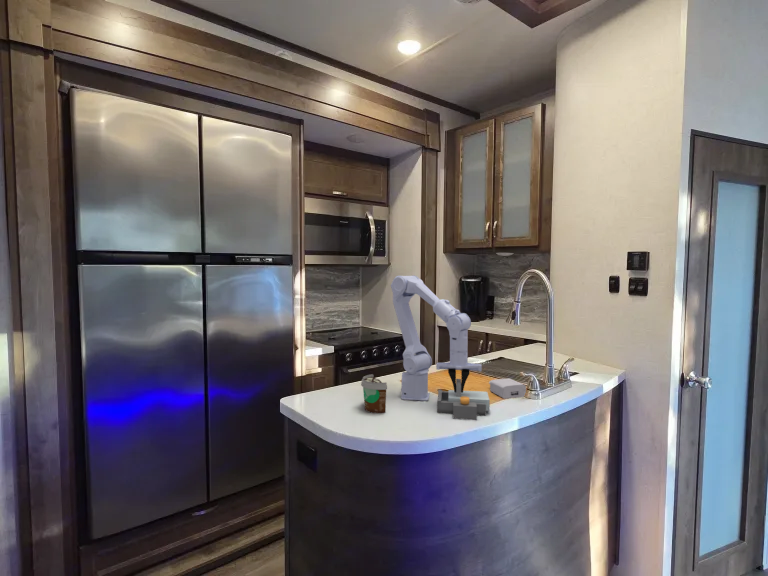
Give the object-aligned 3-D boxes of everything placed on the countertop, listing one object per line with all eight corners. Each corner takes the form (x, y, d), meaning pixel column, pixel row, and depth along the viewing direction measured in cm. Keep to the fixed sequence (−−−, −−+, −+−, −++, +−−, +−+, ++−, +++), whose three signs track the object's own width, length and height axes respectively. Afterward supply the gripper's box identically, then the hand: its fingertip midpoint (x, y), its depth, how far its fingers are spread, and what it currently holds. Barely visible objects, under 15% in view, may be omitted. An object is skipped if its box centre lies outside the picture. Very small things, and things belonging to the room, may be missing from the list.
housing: (436, 417, 121) (436, 404, 120) (438, 400, 136) (438, 389, 136) (487, 420, 118) (487, 407, 118) (482, 403, 134) (482, 391, 134)
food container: (355, 404, 133) (355, 375, 132) (372, 402, 135) (372, 373, 135) (369, 417, 121) (368, 385, 121) (387, 414, 124) (387, 382, 123)
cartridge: (448, 408, 125) (448, 384, 125) (448, 399, 134) (448, 376, 134) (489, 410, 123) (489, 385, 123) (486, 401, 132) (487, 378, 132)
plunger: (460, 404, 120) (460, 398, 120) (460, 401, 123) (460, 396, 122) (469, 404, 119) (469, 399, 119) (469, 401, 122) (469, 396, 122)
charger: (502, 386, 155) (525, 397, 141) (481, 387, 153) (503, 399, 138) (502, 374, 155) (526, 384, 141) (481, 375, 153) (503, 386, 138)
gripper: (436, 352, 126) (435, 394, 126) (482, 353, 123) (482, 396, 124) (436, 348, 133) (436, 387, 133) (480, 349, 130) (480, 389, 131)
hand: (458, 391), depth 129 cm, fingers closed on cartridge, 2 cm apart
